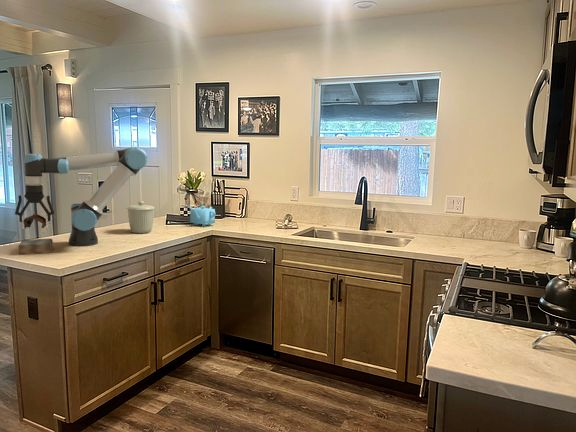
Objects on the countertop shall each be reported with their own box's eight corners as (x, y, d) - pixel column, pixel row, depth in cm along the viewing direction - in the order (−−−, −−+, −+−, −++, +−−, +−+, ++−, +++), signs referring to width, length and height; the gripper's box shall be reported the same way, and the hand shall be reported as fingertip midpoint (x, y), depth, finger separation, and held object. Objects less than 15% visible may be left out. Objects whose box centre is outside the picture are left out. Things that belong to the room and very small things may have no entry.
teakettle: (216, 227, 314) (217, 207, 312) (191, 227, 307) (191, 207, 305) (211, 223, 331) (212, 204, 329) (187, 223, 324) (187, 204, 322)
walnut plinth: (52, 247, 227) (52, 238, 226) (51, 253, 215) (51, 243, 214) (22, 248, 221) (21, 239, 220) (18, 254, 209) (18, 245, 208)
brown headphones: (30, 226, 223) (38, 213, 224) (44, 235, 222) (53, 222, 223) (14, 224, 211) (23, 210, 212) (28, 233, 210) (38, 219, 211)
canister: (127, 229, 287) (127, 199, 284) (155, 229, 293) (155, 199, 290) (126, 234, 270) (125, 202, 267) (155, 234, 276) (155, 202, 273)
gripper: (59, 184, 221) (60, 226, 224) (8, 183, 211) (10, 227, 214) (58, 185, 215) (59, 228, 218) (6, 184, 205) (8, 229, 208)
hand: (35, 228), depth 216 cm, fingers closed on brown headphones, 10 cm apart
